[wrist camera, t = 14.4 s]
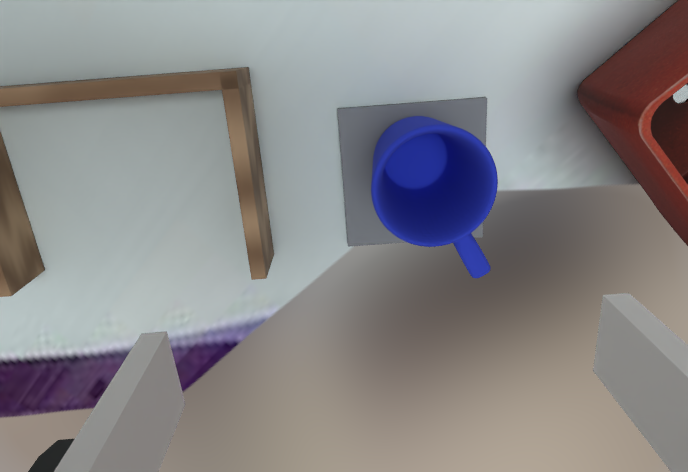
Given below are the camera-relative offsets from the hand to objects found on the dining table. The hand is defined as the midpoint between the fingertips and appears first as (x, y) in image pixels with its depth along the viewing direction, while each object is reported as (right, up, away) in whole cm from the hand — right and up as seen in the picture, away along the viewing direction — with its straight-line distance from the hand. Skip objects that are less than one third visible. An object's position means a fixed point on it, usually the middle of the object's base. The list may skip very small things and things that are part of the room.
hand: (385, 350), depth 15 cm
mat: (+5, +9, +28) cm, 29 cm away
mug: (+6, +9, +27) cm, 29 cm away
